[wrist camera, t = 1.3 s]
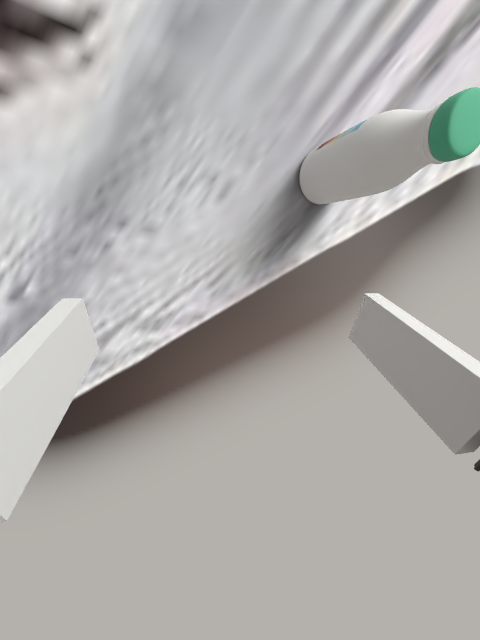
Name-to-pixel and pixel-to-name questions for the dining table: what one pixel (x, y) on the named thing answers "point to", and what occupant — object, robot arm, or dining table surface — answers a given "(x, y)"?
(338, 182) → the milk bottle
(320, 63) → the dining table surface
